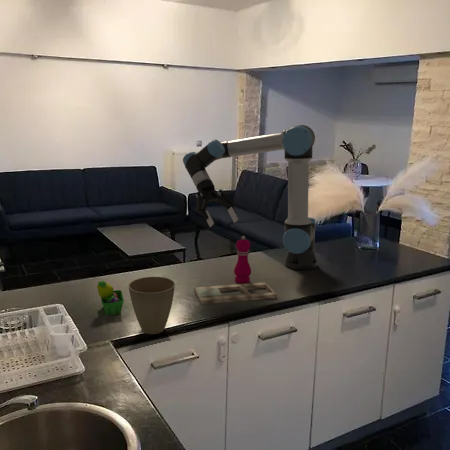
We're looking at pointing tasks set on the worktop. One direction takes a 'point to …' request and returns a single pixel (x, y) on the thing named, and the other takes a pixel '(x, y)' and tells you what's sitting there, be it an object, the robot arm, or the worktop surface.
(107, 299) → the fruit basket
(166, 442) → the worktop surface
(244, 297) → the board
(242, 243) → the pepper mill
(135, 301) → the plant pot
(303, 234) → the robot arm
